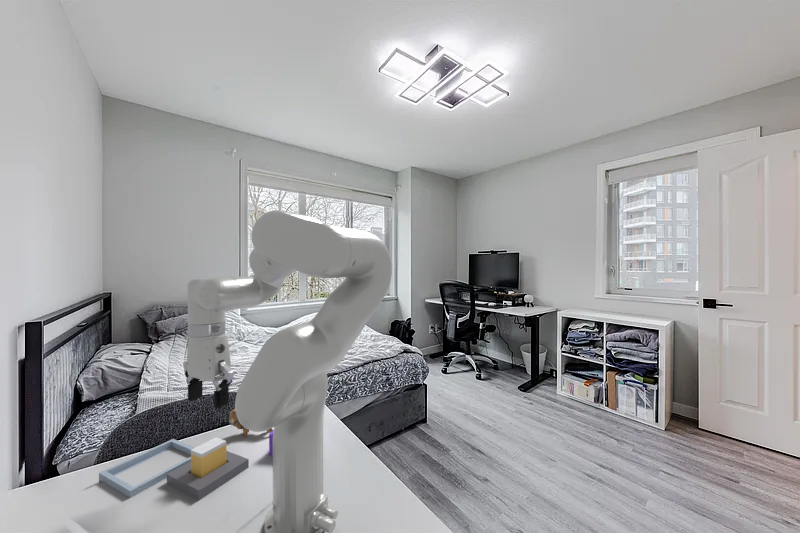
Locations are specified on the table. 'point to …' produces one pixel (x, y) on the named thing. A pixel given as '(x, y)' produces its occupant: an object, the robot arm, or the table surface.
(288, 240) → the robot arm
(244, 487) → the table surface
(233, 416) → the lion figurine
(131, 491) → the tray
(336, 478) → the table surface
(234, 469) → the block
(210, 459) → the block
